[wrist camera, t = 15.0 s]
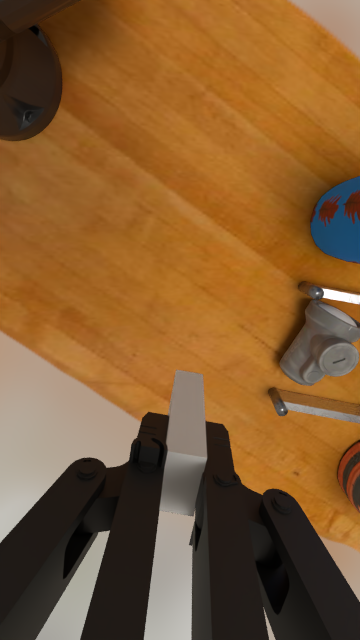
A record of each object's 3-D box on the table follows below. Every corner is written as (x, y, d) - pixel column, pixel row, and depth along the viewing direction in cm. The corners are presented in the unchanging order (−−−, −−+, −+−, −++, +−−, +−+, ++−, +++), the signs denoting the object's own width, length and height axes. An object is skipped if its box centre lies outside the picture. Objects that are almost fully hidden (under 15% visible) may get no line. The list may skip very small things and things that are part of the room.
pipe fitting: (306, 290, 48) (335, 316, 38) (350, 312, 49) (389, 342, 39) (264, 352, 52) (280, 389, 43) (305, 371, 53) (330, 411, 44)
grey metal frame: (267, 395, 53) (275, 414, 47) (299, 280, 48) (313, 286, 42) (370, 415, 53) (392, 437, 47) (415, 302, 47) (445, 311, 42)
